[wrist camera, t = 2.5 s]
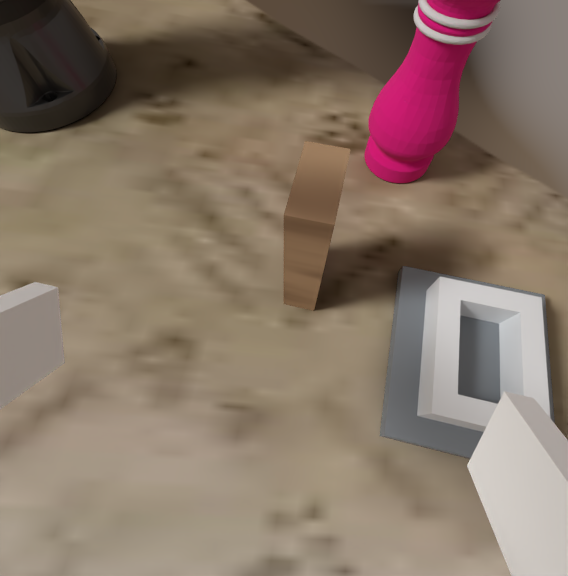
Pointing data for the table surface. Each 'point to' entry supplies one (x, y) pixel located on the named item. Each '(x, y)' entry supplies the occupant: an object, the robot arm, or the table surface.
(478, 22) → the pepper mill
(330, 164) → the wooden slat
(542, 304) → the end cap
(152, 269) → the table surface
